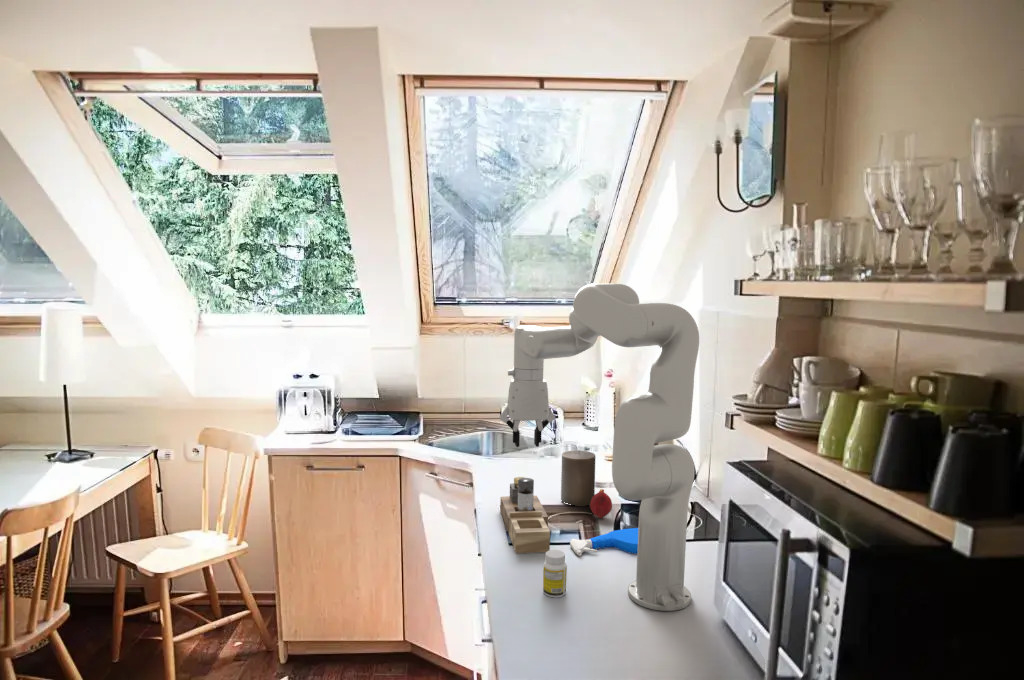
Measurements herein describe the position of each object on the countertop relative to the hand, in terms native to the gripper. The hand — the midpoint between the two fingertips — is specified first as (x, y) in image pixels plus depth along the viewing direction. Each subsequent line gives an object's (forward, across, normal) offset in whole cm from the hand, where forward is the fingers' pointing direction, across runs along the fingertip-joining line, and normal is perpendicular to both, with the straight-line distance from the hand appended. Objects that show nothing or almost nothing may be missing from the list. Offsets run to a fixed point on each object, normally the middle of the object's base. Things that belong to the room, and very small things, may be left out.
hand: (526, 444), depth 176 cm
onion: (+22, +21, +3) cm, 30 cm away
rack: (+21, -1, -12) cm, 25 cm away
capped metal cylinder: (+21, 0, 0) cm, 21 cm away
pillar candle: (+22, +18, +17) cm, 33 cm away
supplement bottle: (+22, 0, -37) cm, 43 cm away
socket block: (+21, 0, +3) cm, 22 cm away
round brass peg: (+16, 0, +8) cm, 18 cm away
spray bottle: (+22, +21, -15) cm, 34 cm away
